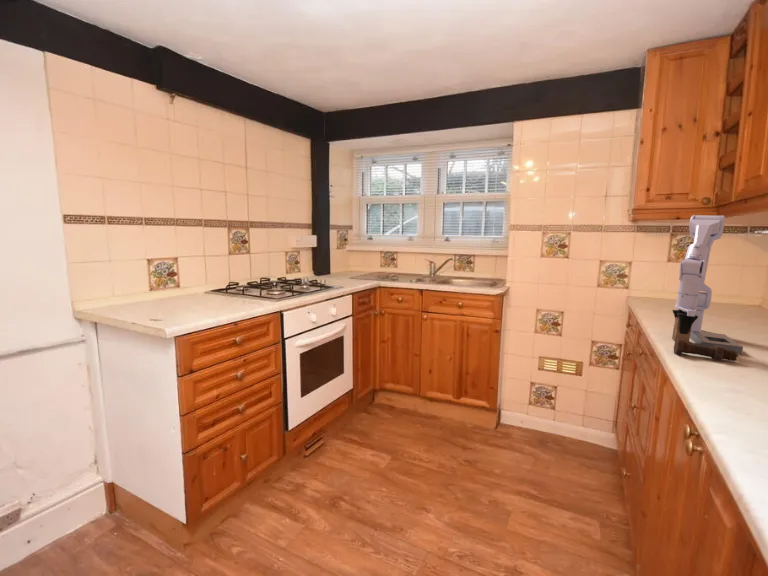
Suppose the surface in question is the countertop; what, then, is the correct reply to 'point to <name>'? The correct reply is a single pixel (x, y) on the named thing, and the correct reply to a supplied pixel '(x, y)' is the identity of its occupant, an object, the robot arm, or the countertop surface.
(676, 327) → the pin
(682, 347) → the bolt
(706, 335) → the collar plate
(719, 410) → the countertop surface
